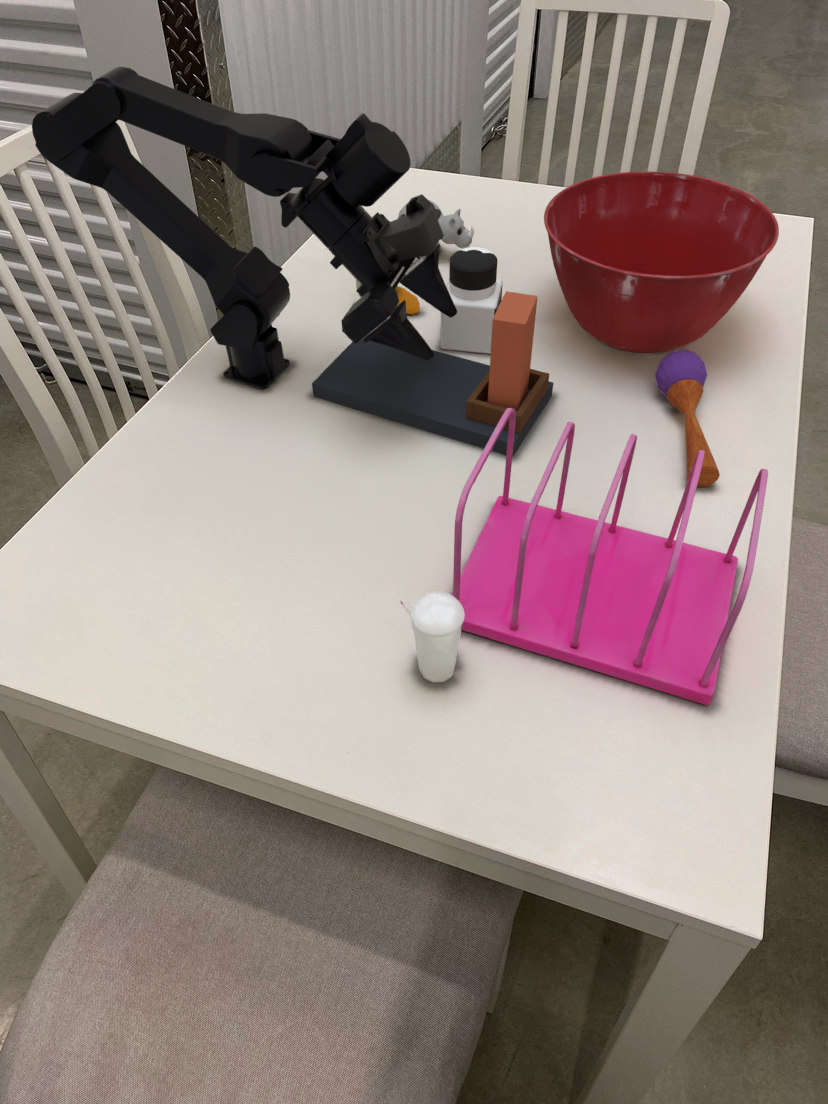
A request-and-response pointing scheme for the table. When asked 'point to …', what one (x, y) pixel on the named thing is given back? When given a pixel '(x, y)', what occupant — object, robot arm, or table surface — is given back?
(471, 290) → the medicine bottle
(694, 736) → the table surface
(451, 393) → the dark board with frame
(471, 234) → the chubby cartoon animal
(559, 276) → the mixing bowl
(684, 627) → the file sorter
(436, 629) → the milkshake
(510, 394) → the terracotta rectangular block
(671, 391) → the purple and brown maraca
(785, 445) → the table surface
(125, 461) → the table surface
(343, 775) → the table surface
